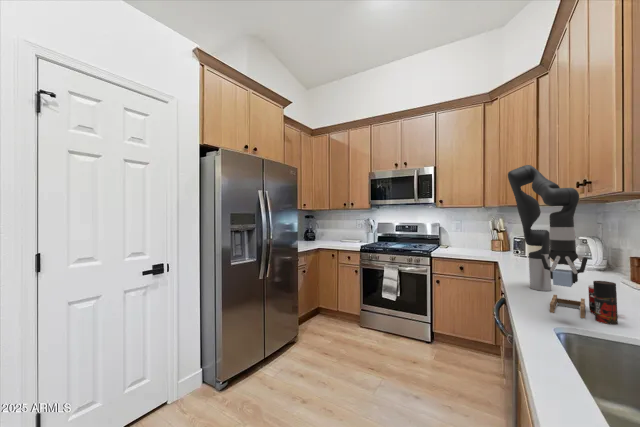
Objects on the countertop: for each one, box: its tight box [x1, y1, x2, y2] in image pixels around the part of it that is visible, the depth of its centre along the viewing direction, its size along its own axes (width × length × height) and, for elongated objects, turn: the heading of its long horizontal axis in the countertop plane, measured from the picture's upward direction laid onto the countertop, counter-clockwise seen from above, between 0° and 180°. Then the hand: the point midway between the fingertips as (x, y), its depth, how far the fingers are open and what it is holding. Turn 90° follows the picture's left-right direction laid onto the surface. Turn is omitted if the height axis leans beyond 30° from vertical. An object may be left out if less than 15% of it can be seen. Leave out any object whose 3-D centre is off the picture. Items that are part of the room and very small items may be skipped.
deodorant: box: [592, 280, 619, 326], centre depth 101 cm, size 6×6×15 cm
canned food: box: [587, 284, 618, 315], centre depth 109 cm, size 8×8×11 cm
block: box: [552, 268, 574, 288], centre depth 102 cm, size 8×5×5 cm, turn 131°
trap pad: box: [557, 303, 580, 310], centre depth 118 cm, size 5×7×1 cm
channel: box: [549, 294, 586, 319], centre depth 114 cm, size 19×10×4 cm, turn 134°
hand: (564, 281), depth 103 cm, fingers closed on block, 5 cm apart
